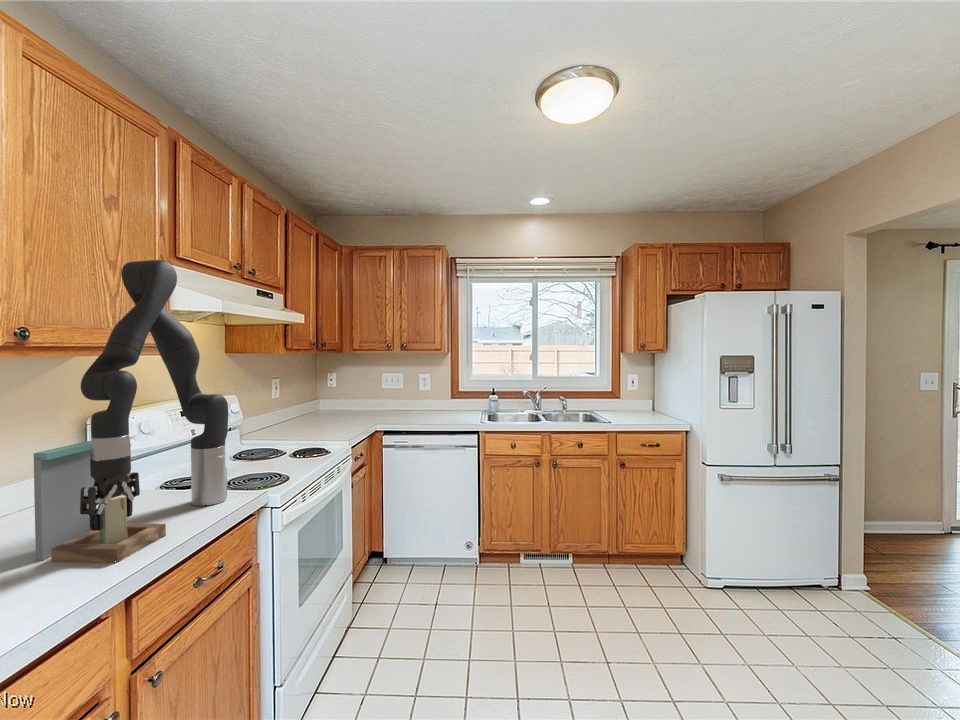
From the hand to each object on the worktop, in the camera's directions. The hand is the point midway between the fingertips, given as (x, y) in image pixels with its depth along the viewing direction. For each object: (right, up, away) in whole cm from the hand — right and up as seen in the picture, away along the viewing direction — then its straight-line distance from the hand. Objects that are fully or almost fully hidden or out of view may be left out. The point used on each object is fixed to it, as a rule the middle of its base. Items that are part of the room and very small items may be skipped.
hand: (112, 523), depth 110 cm
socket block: (0, -6, 0) cm, 6 cm away
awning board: (-11, -6, 0) cm, 12 cm away
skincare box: (0, -6, 0) cm, 6 cm away
